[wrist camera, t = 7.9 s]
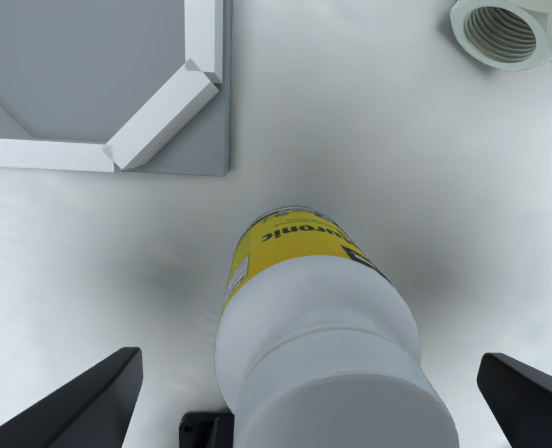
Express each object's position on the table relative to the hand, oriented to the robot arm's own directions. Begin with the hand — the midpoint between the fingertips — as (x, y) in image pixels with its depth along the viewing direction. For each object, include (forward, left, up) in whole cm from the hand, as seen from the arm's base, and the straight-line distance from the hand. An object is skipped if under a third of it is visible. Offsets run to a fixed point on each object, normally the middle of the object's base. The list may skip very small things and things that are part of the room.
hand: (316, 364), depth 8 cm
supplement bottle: (0, 0, -7) cm, 7 cm away
